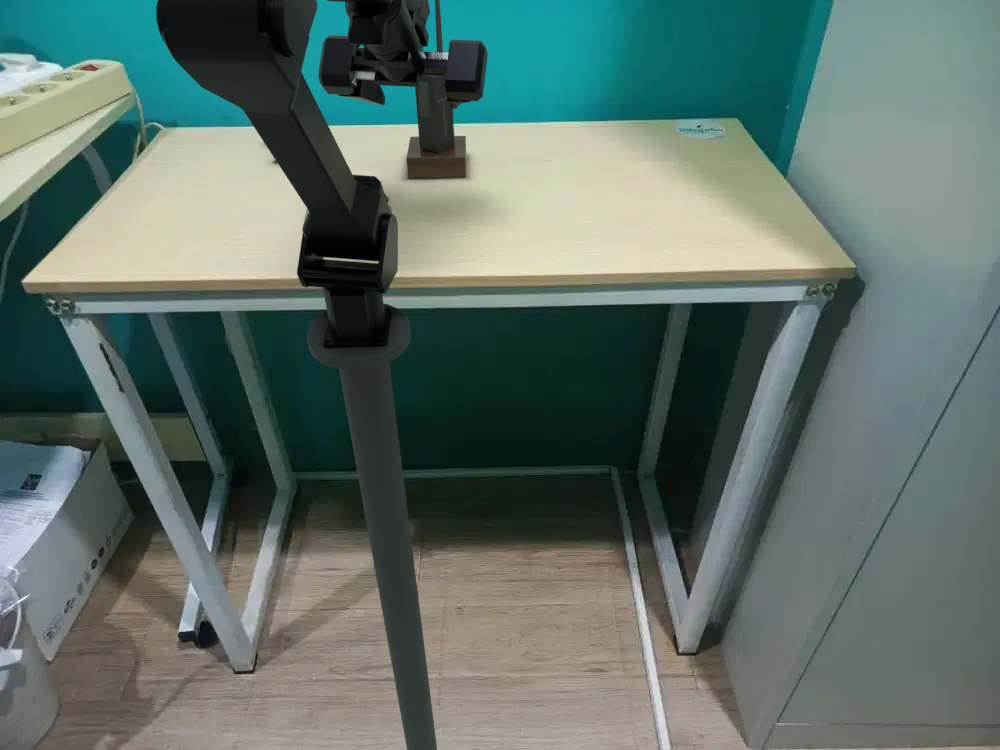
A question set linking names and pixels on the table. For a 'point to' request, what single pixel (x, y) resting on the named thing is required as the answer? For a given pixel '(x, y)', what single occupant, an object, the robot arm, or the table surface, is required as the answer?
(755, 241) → the table surface
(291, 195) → the table surface
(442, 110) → the walkie-talkie
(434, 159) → the block
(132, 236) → the table surface
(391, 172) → the table surface
